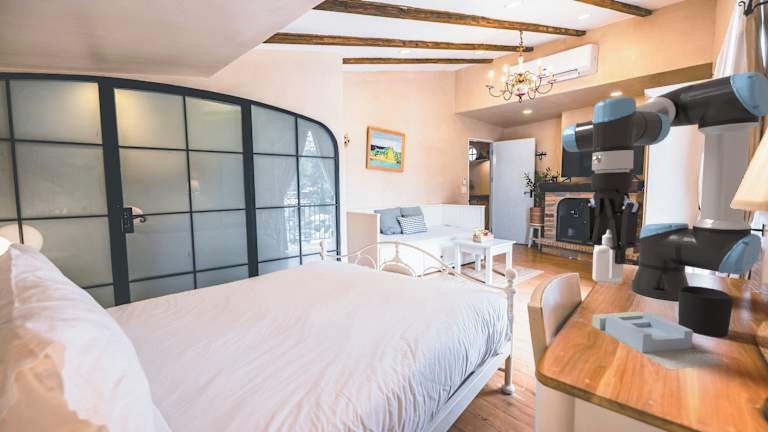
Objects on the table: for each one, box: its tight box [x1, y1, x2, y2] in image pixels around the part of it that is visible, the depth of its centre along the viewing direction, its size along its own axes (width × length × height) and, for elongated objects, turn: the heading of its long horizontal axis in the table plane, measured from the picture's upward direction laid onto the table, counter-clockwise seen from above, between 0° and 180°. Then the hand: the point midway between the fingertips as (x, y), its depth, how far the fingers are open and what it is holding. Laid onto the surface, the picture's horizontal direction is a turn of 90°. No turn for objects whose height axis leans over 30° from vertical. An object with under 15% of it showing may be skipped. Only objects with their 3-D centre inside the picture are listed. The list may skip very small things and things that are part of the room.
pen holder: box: [677, 285, 734, 338], centre depth 80 cm, size 9×9×10 cm
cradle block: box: [605, 312, 694, 353], centre depth 75 cm, size 12×10×4 cm
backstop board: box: [591, 311, 724, 370], centre depth 74 cm, size 13×20×4 cm, turn 7°
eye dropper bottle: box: [591, 229, 624, 285], centre depth 74 cm, size 4×6×12 cm
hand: (607, 274), depth 75 cm, fingers closed on eye dropper bottle, 4 cm apart
